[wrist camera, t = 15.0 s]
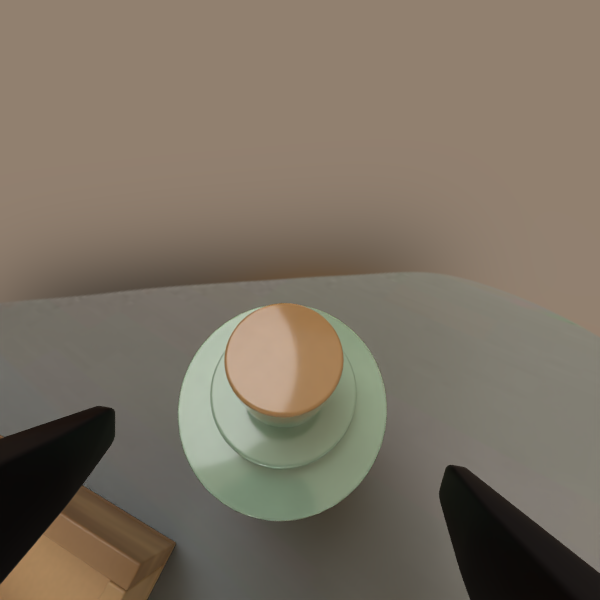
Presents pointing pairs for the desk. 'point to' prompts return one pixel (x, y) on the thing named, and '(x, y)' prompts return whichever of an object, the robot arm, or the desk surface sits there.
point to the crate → (90, 556)
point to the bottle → (282, 412)
